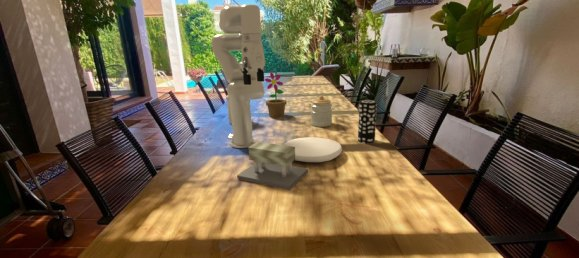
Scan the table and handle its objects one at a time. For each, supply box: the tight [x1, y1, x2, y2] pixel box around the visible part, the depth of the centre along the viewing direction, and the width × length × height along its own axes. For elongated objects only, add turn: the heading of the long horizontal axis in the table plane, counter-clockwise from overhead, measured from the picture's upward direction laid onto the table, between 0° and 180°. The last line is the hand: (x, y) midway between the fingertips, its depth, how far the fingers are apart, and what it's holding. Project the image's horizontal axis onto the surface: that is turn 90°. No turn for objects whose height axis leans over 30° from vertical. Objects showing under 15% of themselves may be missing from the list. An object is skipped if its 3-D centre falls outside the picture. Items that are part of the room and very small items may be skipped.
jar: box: [310, 95, 333, 128], centre depth 182 cm, size 13×13×18 cm
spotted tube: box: [357, 99, 378, 144], centre depth 149 cm, size 8×8×20 cm
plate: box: [282, 136, 343, 163], centre depth 135 cm, size 28×6×27 cm
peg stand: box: [236, 160, 309, 191], centre depth 115 cm, size 22×16×6 cm
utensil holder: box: [225, 94, 251, 125], centre depth 192 cm, size 15×15×18 cm
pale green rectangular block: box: [248, 141, 296, 166], centre depth 114 cm, size 16×7×5 cm, turn 64°
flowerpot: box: [264, 72, 288, 119], centre depth 203 cm, size 14×14×30 cm
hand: (254, 82), depth 123 cm, fingers open, 9 cm apart
